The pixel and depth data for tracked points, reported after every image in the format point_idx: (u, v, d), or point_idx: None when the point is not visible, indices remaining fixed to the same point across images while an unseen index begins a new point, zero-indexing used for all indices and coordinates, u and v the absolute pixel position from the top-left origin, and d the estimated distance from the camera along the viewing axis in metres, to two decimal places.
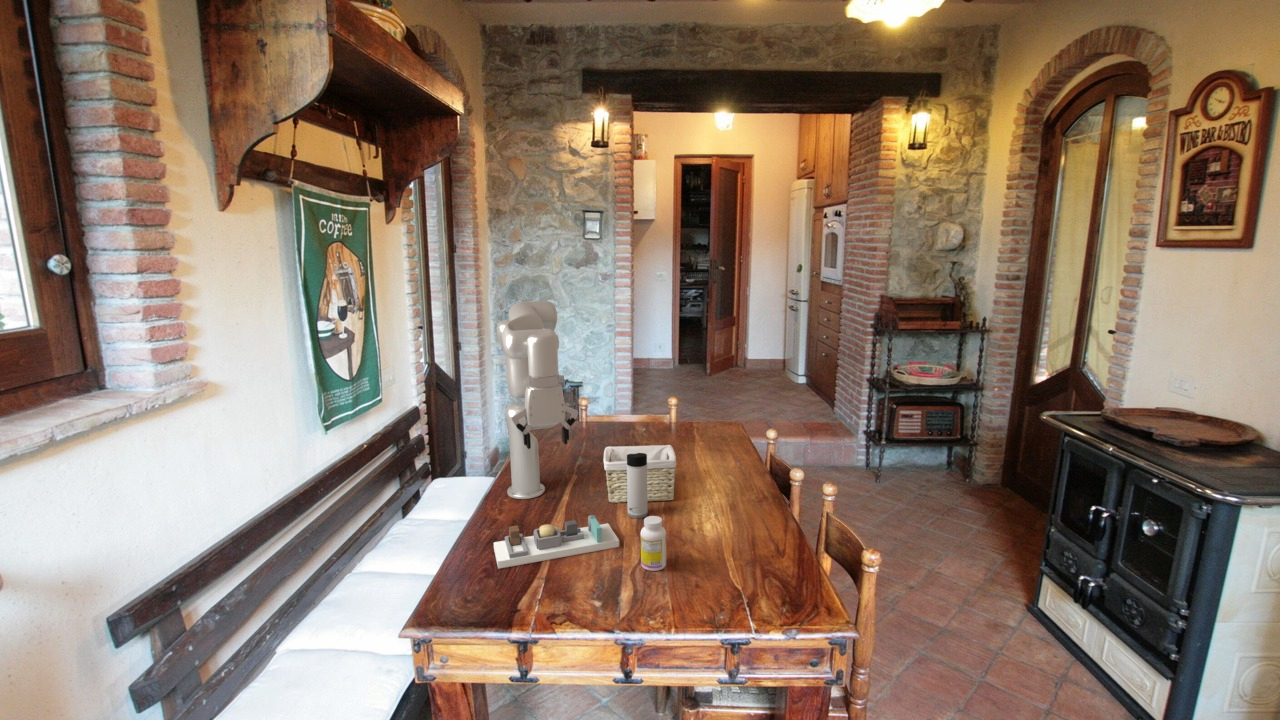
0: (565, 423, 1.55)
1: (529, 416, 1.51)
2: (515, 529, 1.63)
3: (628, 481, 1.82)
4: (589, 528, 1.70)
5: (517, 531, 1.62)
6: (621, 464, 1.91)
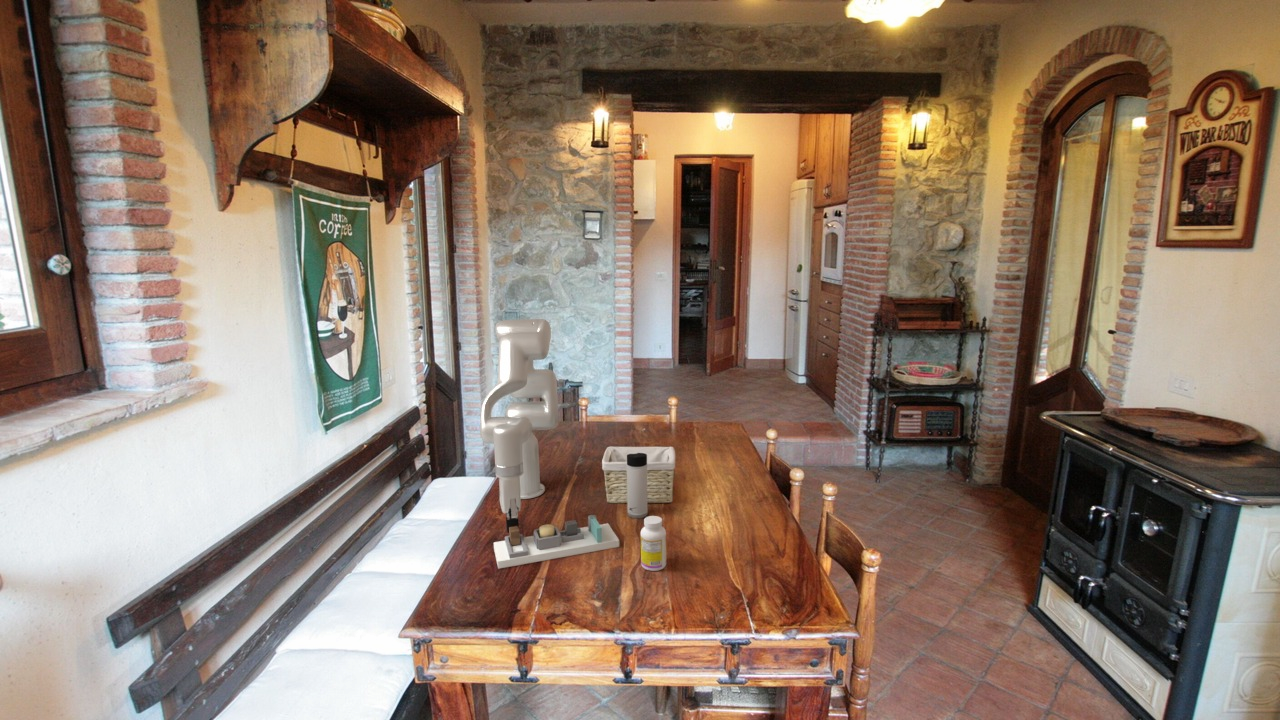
0: None
1: (520, 502, 1.61)
2: (515, 529, 1.62)
3: (628, 481, 1.82)
4: (589, 528, 1.70)
5: (517, 531, 1.62)
6: (618, 465, 1.90)
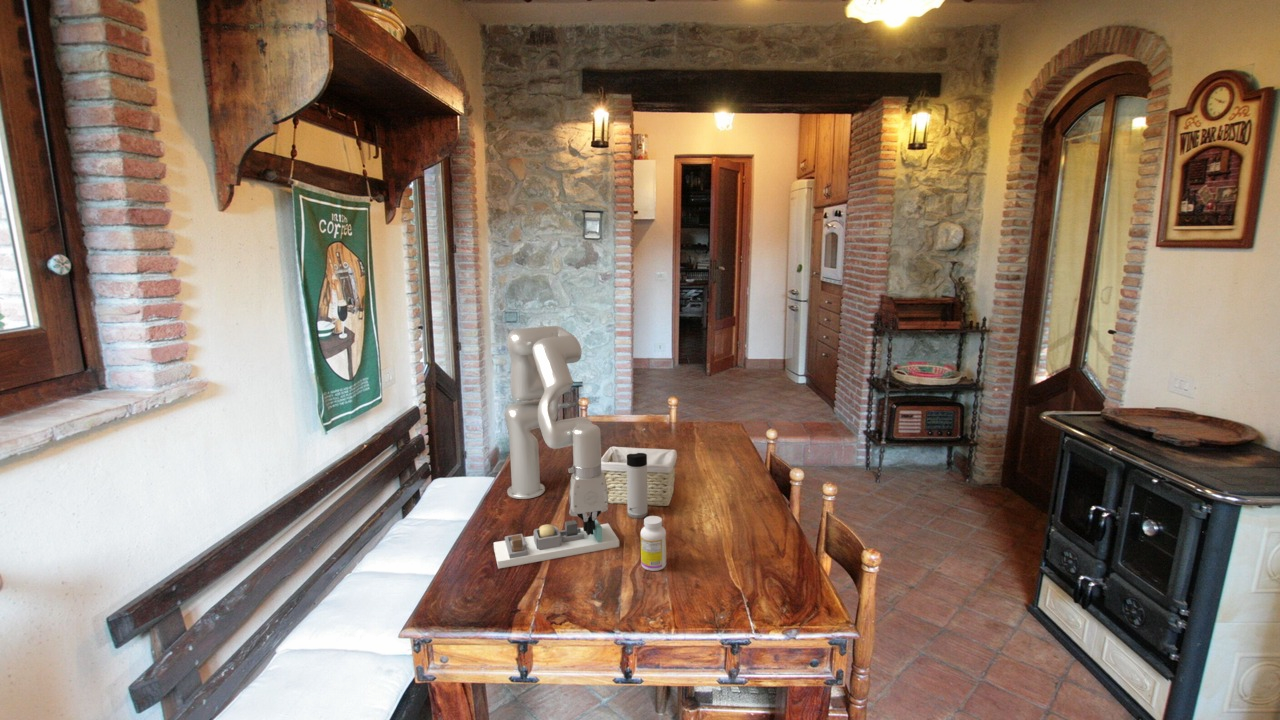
0: None
1: None
2: (518, 538, 1.57)
3: (628, 481, 1.82)
4: None
5: (520, 540, 1.57)
6: (614, 465, 1.90)
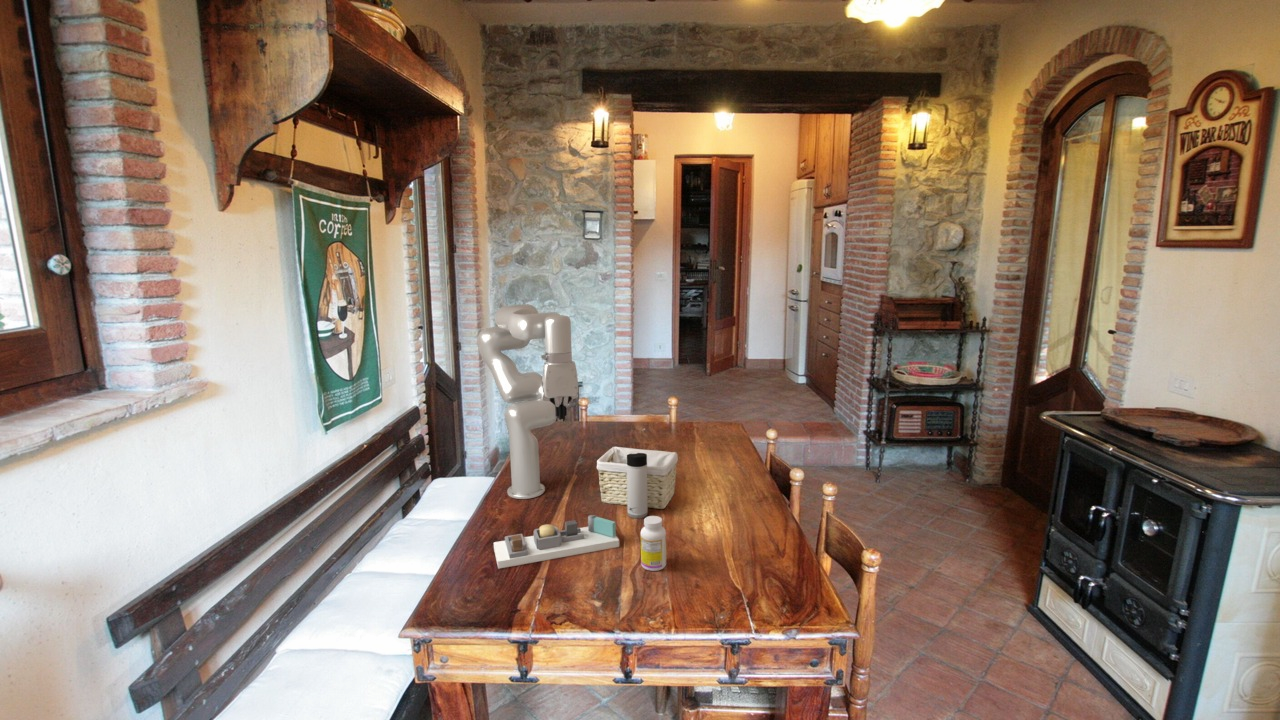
0: None
1: None
2: (518, 538, 1.57)
3: (628, 481, 1.82)
4: (591, 528, 1.69)
5: (520, 540, 1.57)
6: (611, 465, 1.90)
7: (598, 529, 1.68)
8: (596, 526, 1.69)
